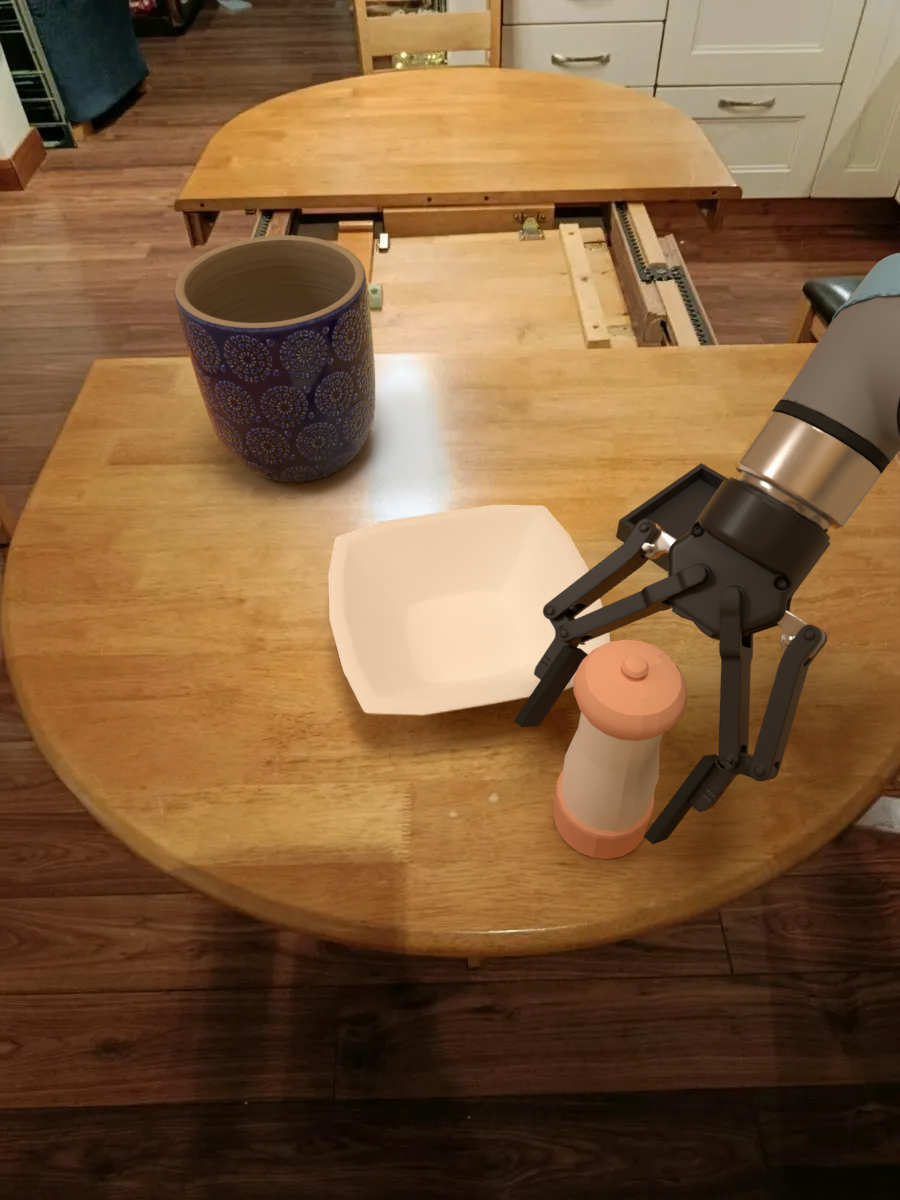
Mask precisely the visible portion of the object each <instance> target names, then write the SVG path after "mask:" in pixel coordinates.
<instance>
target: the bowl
mask: <svg viewBox="0 0 900 1200" xmlns="http://www.w3.org/2000/svg"><path fill="white" fill-rule="evenodd" d="M589 570H590V569H589V567H588V565H587V563H586V561H585V560H584V559H583V557H582V555H581V553H580V551H579V549H578V547H577V545H576V544H575V542H574V540H573V539H572V537H571V536H570V534H569V533H568V532H567V529H565V528H564V527H563V526H562V524H561V523H560V522H559V521H558V519H556V517H555V516H554V515H553V514H552V513H551V512H550V510H549V508H547V506H545V505H541V504H540V505H538V504H537V505H536V504H502V503H501V504H498V503H497V504H492V505H482V506H476V507H475V506H474V507H469V508H461V509H453V510H448V511H440V512H433V513H428V514H422V515H415V516H409V517H403V518H402V517H401V518H395V519H389V520H383V521H378V522H376V523H372V524H369V525H367V526H364V527H361V528H357V529H355V530H352V531H349V532H345V533H343V534H340V535H337V536H336V537H335V538H334V542H333V547H332V552H331V557H330V562H329V566H328V570H327V571H328V574H327V577H328V605H329V606H328V611H329V613H328V615H329V624H330V627H331V630H332V634H333V638H334V642H335V645H336V649H337V654H338V657H339V660H340V664H341V669H342V671H343V674H344V675H345V677H346V679H347V681H348V683H349V686H350V688H351V689H352V692H353V693H354V695H355V698H356V699H357V702H358V703H359V705H360V707H361V710H362V712H363V713H364V714H366V715H376V716H378V715H379V716H409V717H410V716H411V717H412V716H413V717H424V716H430V715H437V714H442V713H443V714H444V713H449V712H455V711H461V710H462V711H463V710H467V709H473V708H479V707H485V706H491V705H492V706H493V705H497V704H502V703H507V702H513V701H518V700H523V699H528V698H529V697H530V695H531V694H532V692H533V691H534V689H535V688H536V686H537V685H538V683H539V682H540V679H539V678H538V677H536V676H535V675H534V671H535V667H536V665H537V664H538V662H539V661H540V659H541V658H542V656H543V655H544V653H545V652H546V650H547V649H548V647H549V646H550V644H551V643H552V641H553V640H554V638H555V629H554V627H553V625H552V623H551V622H550V620H549V619H547V618H546V617H545V616H544V614H543V608H544V606H545V605H546V604H547V603H548V602H550V601H551V600H552V599H553V598H555V597H556V596H557V595H559V594H560V593H561V592H562V591H564V590H565V589H566V588H568V587H569V586H570V585H571V584H573V583H574V582H575V581H577V580H578V579H579V578H580V577H582V576H583V575H584V574H586V573H587V572H588V571H589ZM602 607H604V606H603V603H602V600H601V598H599V599H598V600H597V601H595V602H594V603H593V604H591V605H590V606H589V607H587V608H586V609H585V610H583V611H582V612H581V613H579V614H578V615H577V616H575V617H574V618H575V619H577V618H579V617H581V616H584V615H586V614H588V613H591V612H593V611H595V610H598V609H600V608H602ZM609 642H611V635H610V632H609V633H606V634H604V635H601V636H599V637H596V638H594V639H592V640H589V641H587V642H584V643H585V644H586V645H578V647H577V648H580V649H582V650H583V651H584V652H586V653H587V654H589V653H590V652H591V651H592V650H594V649H596V648H598V647H600V646H602V645H604V644H606V643H609ZM576 672H577V671H576ZM575 674H576V673H575ZM575 674H574V676H575ZM574 676H573V677H572V679H571V680H570V681H569V683H568V684H567V686H566V687H565V689H564V690H563V692H564V691H567V690H570V689H573V688H574Z"/></svg>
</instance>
